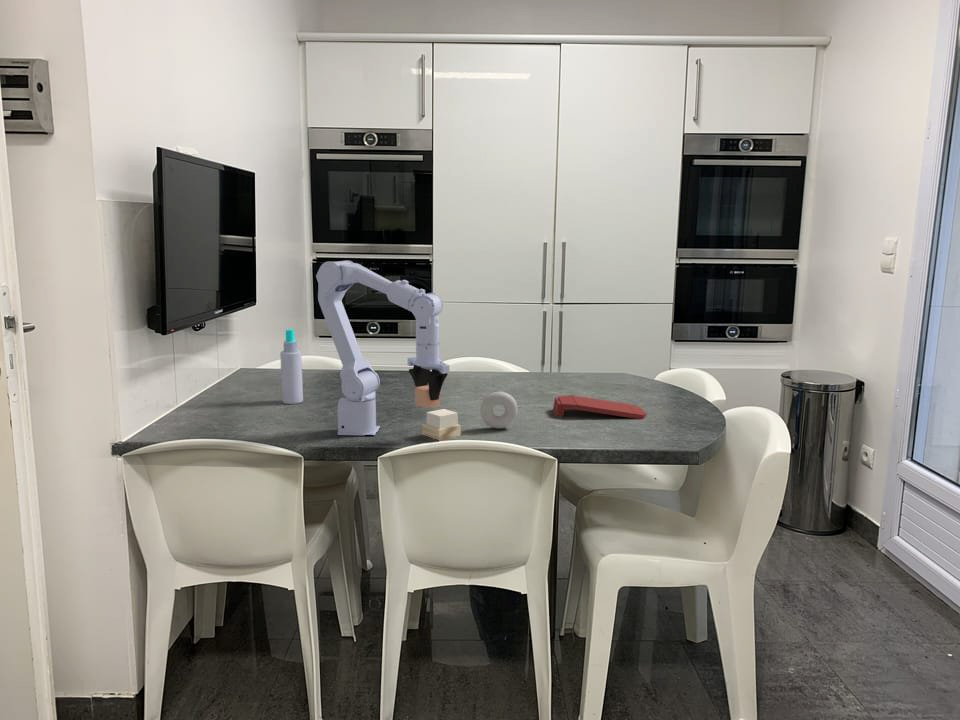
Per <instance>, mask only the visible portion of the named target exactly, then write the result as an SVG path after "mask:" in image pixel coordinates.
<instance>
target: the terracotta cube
mask: <svg viewBox="0 0 960 720" xmlns="http://www.w3.org/2000/svg"><path fill="white" fill-rule="evenodd" d="M414 398H415V400H414V405H415V406H418V407H421V408H425V409H428V408H432V407H438V406H441V394H440V395H439V399H438V400H433V401H432V400H430V396H429V386H428V385H426V386H420V387H416V386H414Z"/></svg>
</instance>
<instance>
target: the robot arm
mask: <svg viewBox="0 0 960 720" xmlns="http://www.w3.org/2000/svg"><path fill="white" fill-rule="evenodd" d="M315 277H316V280H317V283H318V287H317V288H318V290H317V300H318V303H319V307H320V309H321V312H322V314H323V316H324V319H325V323H326V324H327V327H328V330H329V332H330V335H331V338H332V341H333V344H334V346H335V348H336V351H337V354H338V356H339V357H338V358H339V359H340V362H341V365H342V367H341V370H340V373H339V377H340V379H341V391H342V394H343V395H344V396H345V397H340V398H339V399H338V403H337V436H365V435H374V436H375V435H376V434H377V433H378V431H379V430H380V429H381V426H380V425H377V412H376V411H377V407H376V405H377V404H376V399H377V398H376V394H377V393H376V392H377V391H378V389H379V388H380V384H381V381H380V377H379V375H378V373H377V372H376V371H375V370H374V369H373V366H372V365H371V363H370V362H369V361H367V360H366V359H365V358H364V357H363V354H362V352H361V349H360V346H359V344H358V342H357V339H356V336H355V332H354V330H353V328H352V325H351V323H350V320H349V317H348V314H347V312H346V309H345V306H344V304H343V301H342V300H343V298H344V297H345V294H346V292H347V291H348V290H349V289H350V288H351V287H352V286H353V285H354V284H358V283H359V284H361V285H364V286H366V287H367V288H368V287H369V288H370V289H373V290H376V291H378V292H379V293H380V292H381V293H383V294H385V295H386V296H387V299H388V301H389V302H390V303H393V304H394V305H397V306H399V307H401V308H403V309H405V310H407V311H408V312H411V313H412V314H413V316H414V318H415V352H416V353H415V355H416V356H413V357H407V366H409V367H412V368H409V369H408V373H409V374H410V376H411V378H412V380H413V382H414V387H420V386H426V385H428V386H429V396H430V400H432V401H433V400H438V399H439V395H440V396H441V390H442V387H443V385H444V383H445V380H446V378H447V376H448V374H450V367H451V366H450V364H447V363H445V362H443V361H444V360H443V359H440V314H441V312H442V310H443V307H444V306H443V305H444V303H443V300H442V299H441V297H440V296H439V295H437V294H436V293H435V292H428V293H426V289H423V288H420V289H419V288H417V287H415V286H413V285H411V284H409V283H410V282H409V281H408V280H406V279H402V280H399V279H398V280H395V281H391V280H389V279H387V278H385V277H383V276H382V275H380V274H378V273H376V272H374V271H372V270H370V269H368V268H367V267H365V266H363V265H362V264H360V263H357V262H355V263H354V262H353V261H352V260H348V259H347V260H341V261H339V260H338V261H329V260H328V261H325V262H323V263H322V264H321V265H320V266H319V269H318V270H317V273H316V275H315ZM379 428H380V429H379ZM376 432H377V433H376Z"/></svg>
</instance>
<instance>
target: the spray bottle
mask: <svg viewBox="0 0 960 720" xmlns="http://www.w3.org/2000/svg"><path fill="white" fill-rule="evenodd" d="M279 354H280V355H279V356H280V375H281V400H282V403H283V404H286V405H298V404H302V402H304V393H303V392H304V390H303V368H302V366H303V365H302V362H303V361H302V351H301V350H299V349H298V340H296V339H295V329H291V328H290V329H285V341H283V350H282V351H280V353H279Z"/></svg>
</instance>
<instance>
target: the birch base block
mask: <svg viewBox="0 0 960 720" xmlns="http://www.w3.org/2000/svg"><path fill="white" fill-rule="evenodd" d="M422 435H425V436H428V437H431V438H434V439H437V440H443V441H447V440H450V439H449V438H452V437H456V436H460V435H461V436H462V425H460V424H458V425H456V426H452V427H447V428H443V429H439V428H436V427H433V426H430V425H427V423H423V424H421V436H422ZM425 436H424V437H425ZM461 436H460V437H461ZM428 437H427V438H428ZM431 438H430V439H431ZM456 438H457V437H456ZM434 439H433V440H434ZM446 439H447V440H446ZM452 439H453V438H452ZM437 440H436V441H437Z"/></svg>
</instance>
